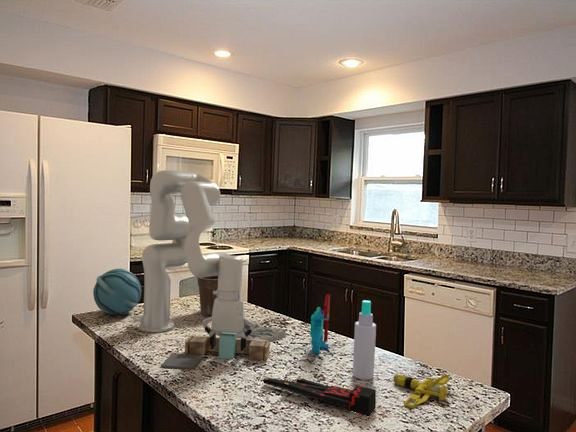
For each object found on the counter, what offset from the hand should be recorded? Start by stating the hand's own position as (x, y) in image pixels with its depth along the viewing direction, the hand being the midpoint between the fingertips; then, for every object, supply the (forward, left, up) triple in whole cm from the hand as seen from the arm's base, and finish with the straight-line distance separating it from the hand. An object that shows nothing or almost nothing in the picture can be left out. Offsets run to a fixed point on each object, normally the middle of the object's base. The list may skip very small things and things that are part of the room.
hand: (227, 348), depth 142 cm
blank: (0, 0, -2) cm, 2 cm away
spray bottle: (+42, -9, -2) cm, 43 cm away
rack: (0, 0, -2) cm, 2 cm away
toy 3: (+29, -24, -3) cm, 38 cm away
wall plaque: (+3, +23, -3) cm, 23 cm away
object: (-16, +48, -2) cm, 51 cm away
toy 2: (+29, +10, -2) cm, 31 cm away
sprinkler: (+56, -18, -3) cm, 58 cm away
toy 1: (-54, +37, -2) cm, 65 cm away
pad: (-12, -8, -2) cm, 15 cm away
